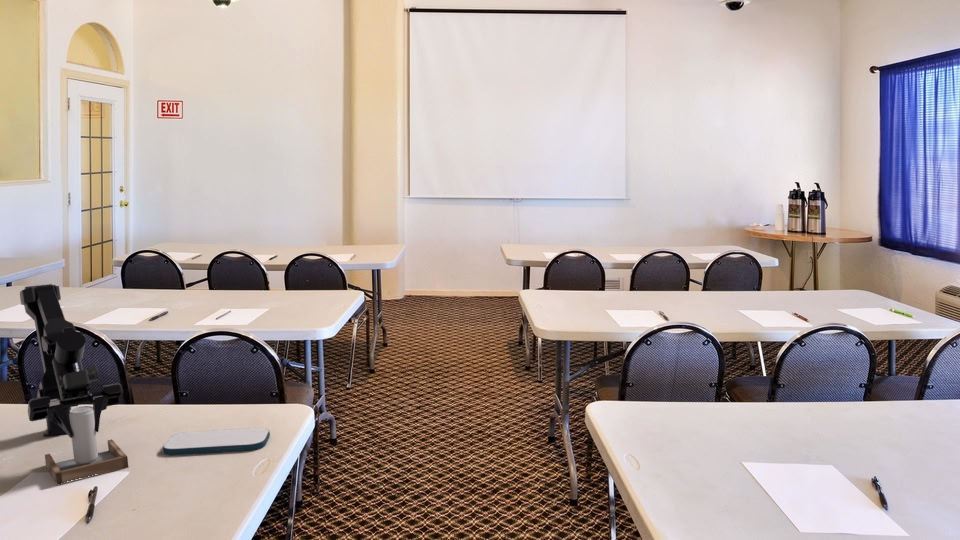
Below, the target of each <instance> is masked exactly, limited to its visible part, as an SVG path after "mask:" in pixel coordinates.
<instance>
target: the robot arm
mask: <svg viewBox="0 0 960 540" xmlns="http://www.w3.org/2000/svg"><path fill="white" fill-rule="evenodd" d="M60 290H61V289H60V286H59V285H56V284H52V283H49V284H38V285H37V284H36V285H30V286H28V285H27V286H24V289H22V290H20V292H19V299H20V304H21V306H22V305H23V306H24V310H25V314H26V315H28V316H29V317H30V318H31V319H32V320H33V321H34V325H35V330H36V337H37V341H38V347H39V353H40V357H41V363H42V368H43V375H42V378H41V381H40V382H39V385H38V388H39V389H37V395H36V397H33V398H30V399H29V400H28V402H27V403H28V404H27V414H28V415H27V416H28V420H29V422H36V421H42V420H45V421H46V430H45V431H44V433H43V434H42V435H43V437H47V436H55V435H65V434H66V435H67V436H68V437H69V438H70V439H72V437H73V434H72V429H71V426H70V417H69V414H70V410H71V409H72V407H73V408H75V407H79V406H80V405H85V404H91V403H92V407H93V410H94V419H95V430H96V433H98V432H99V429H100V421H101V415H102V414H101V413H102V411H105V410H107V408H108V407H111V406H116V405H119V404H121V403H122V399H123V395H124V389H123V386H122V384H120V383H118V382H115V383H111V384H106V385H102V387H101V390H100V391H97V392H93V393H90V391H91V389H92V387H91V384H92V382H97V381H98V380H99V378H100V375H99V371H98V368H97V365H93V366H88V367H87V368H86V369H85V370H84V368H83V364H82V360H83V357H84V354H85V346H86V343H87V342H86V336H85V335H83V334H82V333H81V332H80V331H77V330H76V326H75V325H74V324H73V323H72V322H70V321H68V320H66V317H65V315H64V312H63V309H62V307H61V303H60V301H61V300H62V299H61V297H62V296H61V291H60Z"/></svg>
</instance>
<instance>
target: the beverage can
mask: <svg viewBox="0 0 960 540" xmlns="http://www.w3.org/2000/svg"><path fill="white" fill-rule="evenodd" d="M69 417H70V426H71V429H72V434H73V437H72V438H71V442H72V443H71V444H72V453H73V459H74V461H75V462H76V463H77V464H87V463H91V462H93V461H95V460H96V459H97V457H98V453H99V452H98V441H97V432H96V430H95V419H94V410H93V406H90V405H83V406H76V407H73V408H71V410H70V414H69Z"/></svg>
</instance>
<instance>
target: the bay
mask: <svg viewBox="0 0 960 540" xmlns="http://www.w3.org/2000/svg"><path fill="white" fill-rule="evenodd" d="M107 448H108V450H106V451H102V452H98V457H97V459H96V460H95V461H93V462H91V463H87V464H77V463H76V462H75V461H74V458H72V459H67V460H64V461H63V460H62V461H59V462H55V460H54V458H53V456H52V455H51V453H45V454H44V459H45V462H44V463H45V466H46V468H47V470H48V472H49V473H50V475H51V476H53V477H52V478H54V479H53V480H54V482H55V483H57V484H60V485H62V484H61V483H64V482H67V481H71V480H75V479H79V478H83V479H85V478H84V477H87V478H89V477H88V476H91V477H93V476H92V475H95V474H99V475H102V474H101V473H103V474H106V473H111V472H114V471H119V470H122V469H126V468H129V459H128V455H127V454H126V453H125V452H124V451H123V450H122V448H120V447H119V445H118V444H117V443H116V442H115V441H114V440H113V439H108V440H107ZM95 476H96V475H95ZM79 480H80V479H79ZM75 481H76V480H75ZM57 484H56V485H57ZM64 484H65V483H64Z"/></svg>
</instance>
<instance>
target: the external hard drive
mask: <svg viewBox="0 0 960 540" xmlns="http://www.w3.org/2000/svg"><path fill="white" fill-rule="evenodd" d="M270 437H271V432H270V430H269V429H268V428H265V427H262V428H261V427H251V428H250V427H249V428H235V429H234V428H233V429H218V430H198V431H186V432H185V431H184V432H179V433H175V434H173V435H171V436H170V437H169V438H168V439H167V441H166V442H165V443H164V445H163V446H162V451H163V454H165V455H167V456H184V455H186V456H188V455H202V454H217V453H235V452H237V453H238V452H250V451H256V450H257V451H258V450H260V449H263V448H264V447H265V446H266V445H267V443H268V442H269V439H270ZM187 454H188V455H187Z"/></svg>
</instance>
